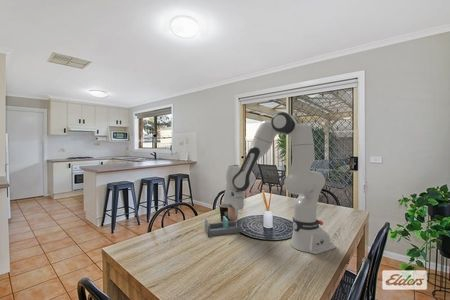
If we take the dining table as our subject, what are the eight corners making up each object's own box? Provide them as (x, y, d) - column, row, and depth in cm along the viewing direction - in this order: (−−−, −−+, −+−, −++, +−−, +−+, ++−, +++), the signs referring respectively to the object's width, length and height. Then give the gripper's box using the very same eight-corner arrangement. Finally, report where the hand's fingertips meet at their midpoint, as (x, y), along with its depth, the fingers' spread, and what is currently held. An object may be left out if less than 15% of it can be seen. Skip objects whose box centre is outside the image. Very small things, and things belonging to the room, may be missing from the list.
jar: (238, 216, 139) (238, 202, 138) (237, 220, 132) (237, 206, 132) (228, 216, 140) (228, 202, 139) (227, 219, 134) (227, 205, 133)
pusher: (224, 226, 139) (224, 215, 139) (228, 232, 131) (228, 220, 131) (222, 227, 139) (222, 216, 138) (226, 232, 131) (226, 220, 130)
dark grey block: (235, 225, 142) (235, 216, 142) (240, 232, 131) (240, 222, 131) (204, 228, 137) (204, 219, 137) (208, 236, 126) (207, 226, 126)
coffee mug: (217, 221, 150) (217, 206, 150) (221, 217, 158) (221, 203, 158) (234, 222, 147) (234, 208, 147) (236, 218, 156) (236, 204, 155)
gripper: (221, 187, 143) (221, 208, 144) (236, 195, 125) (236, 218, 126) (230, 187, 146) (230, 207, 147) (245, 194, 127) (245, 217, 128)
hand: (232, 212), depth 136 cm, fingers closed on jar, 6 cm apart
